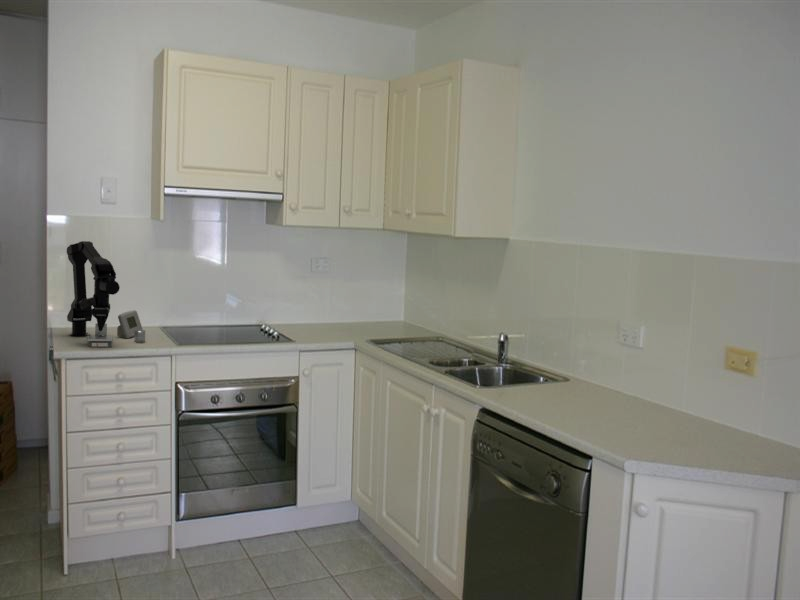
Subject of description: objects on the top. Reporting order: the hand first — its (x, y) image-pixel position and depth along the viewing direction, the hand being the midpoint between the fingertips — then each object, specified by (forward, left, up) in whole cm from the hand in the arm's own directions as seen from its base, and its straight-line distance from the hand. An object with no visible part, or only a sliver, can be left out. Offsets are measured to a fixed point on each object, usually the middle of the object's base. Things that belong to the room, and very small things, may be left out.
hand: (101, 329), depth 306 cm
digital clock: (-19, +11, -6) cm, 24 cm away
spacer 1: (0, 0, -3) cm, 3 cm away
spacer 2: (-4, +15, -6) cm, 17 cm away
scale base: (+3, 0, -6) cm, 7 cm away
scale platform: (+3, 0, -4) cm, 5 cm away
